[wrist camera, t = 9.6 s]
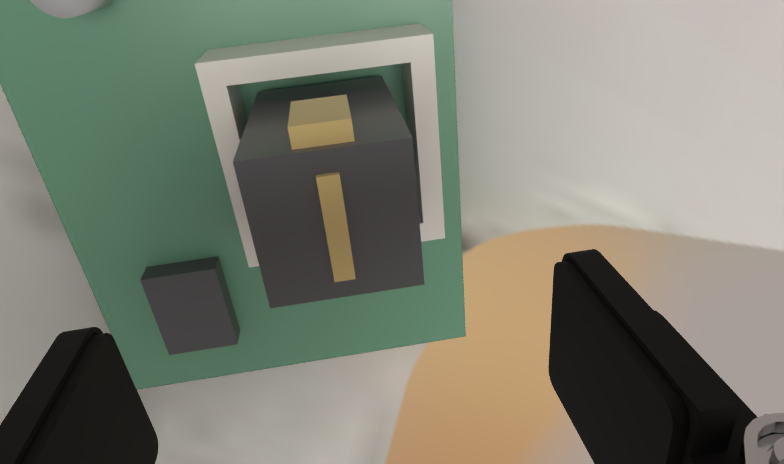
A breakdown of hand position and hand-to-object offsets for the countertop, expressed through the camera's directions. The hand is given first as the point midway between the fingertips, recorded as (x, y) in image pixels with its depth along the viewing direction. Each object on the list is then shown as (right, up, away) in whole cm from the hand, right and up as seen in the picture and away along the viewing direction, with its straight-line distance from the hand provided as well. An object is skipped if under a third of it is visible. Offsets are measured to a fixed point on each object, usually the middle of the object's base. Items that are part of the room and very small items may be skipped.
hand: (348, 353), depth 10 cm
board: (-5, +6, +12) cm, 14 cm away
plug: (-2, +6, +10) cm, 12 cm away
